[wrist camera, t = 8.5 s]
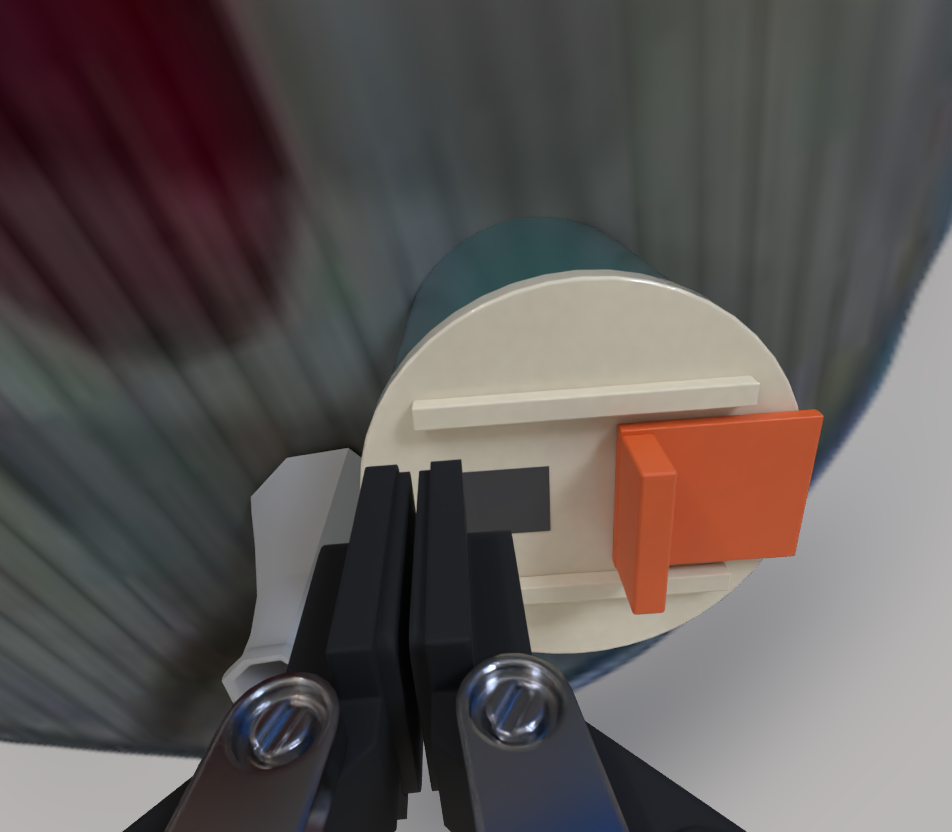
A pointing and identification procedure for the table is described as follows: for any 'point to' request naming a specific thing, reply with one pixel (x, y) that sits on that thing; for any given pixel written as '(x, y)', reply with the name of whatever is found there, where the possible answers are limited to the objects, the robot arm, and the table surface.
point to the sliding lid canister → (564, 409)
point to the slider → (708, 494)
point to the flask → (292, 553)
